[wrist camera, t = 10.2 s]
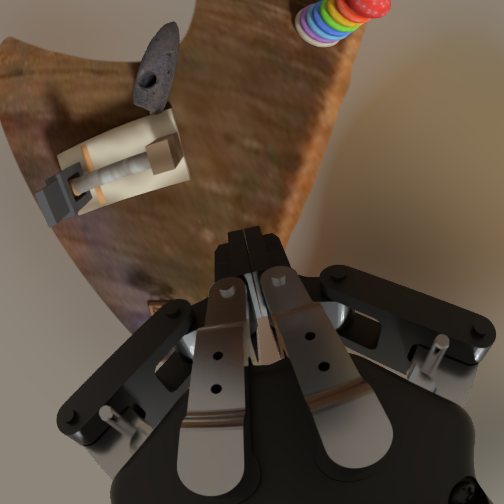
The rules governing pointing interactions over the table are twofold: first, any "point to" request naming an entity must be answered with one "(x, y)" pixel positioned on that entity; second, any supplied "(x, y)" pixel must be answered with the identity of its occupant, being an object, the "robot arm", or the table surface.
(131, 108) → the table surface
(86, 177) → the pipe stand
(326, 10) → the stacking toy
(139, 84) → the perforated stone tool
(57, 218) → the collar
